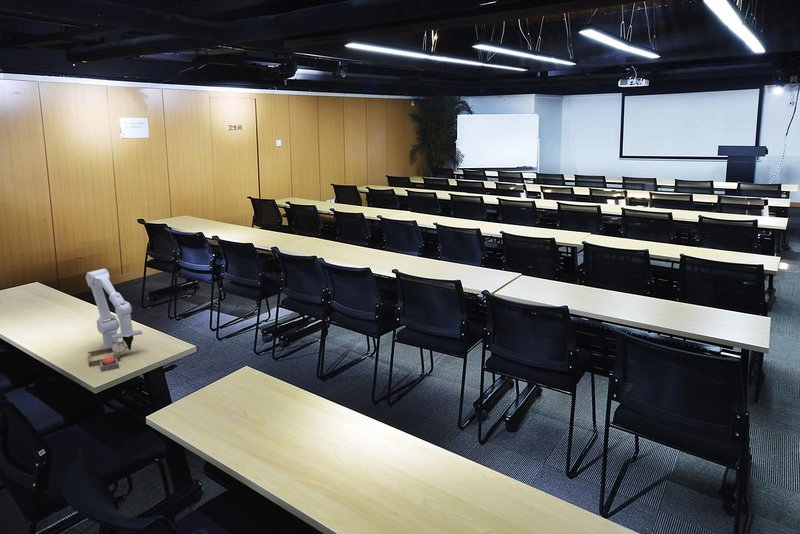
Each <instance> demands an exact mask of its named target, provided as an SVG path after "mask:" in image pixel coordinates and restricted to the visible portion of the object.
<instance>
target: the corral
mask: <svg viewBox="0 0 800 534" xmlns="http://www.w3.org/2000/svg"><path fill="white" fill-rule="evenodd" d="M111 350H112V347H111V348H105V349H104V348H101V349H96V350H91V351H87V356H88V364H89V367H90V368H91V366H92V367H97V366H100V361H103V359H104V358H100V359H96V360H95V359H94V360H92V357H96V356H101V355H106V354H111V353H113V351H111ZM105 353H106V354H105ZM100 354H101V355H100ZM95 355H96V356H95ZM113 357H114V358H117V360H118V362H121V361H122V359H121V355H119V356H115V355H114V356H113ZM96 365H97V366H96Z"/></svg>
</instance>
